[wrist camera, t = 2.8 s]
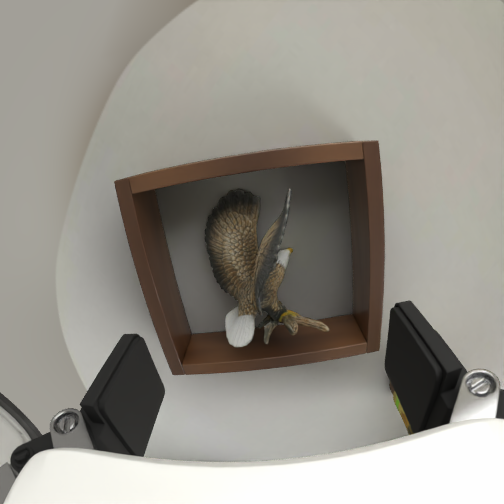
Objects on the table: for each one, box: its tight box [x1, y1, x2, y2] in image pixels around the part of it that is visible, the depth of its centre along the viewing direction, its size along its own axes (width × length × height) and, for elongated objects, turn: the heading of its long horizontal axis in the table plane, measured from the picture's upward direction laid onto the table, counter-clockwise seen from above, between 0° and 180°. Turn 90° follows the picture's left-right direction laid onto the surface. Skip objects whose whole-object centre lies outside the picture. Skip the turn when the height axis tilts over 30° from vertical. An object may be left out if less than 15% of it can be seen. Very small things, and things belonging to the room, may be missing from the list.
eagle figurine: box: [205, 189, 330, 347], centre depth 18 cm, size 8×7×9 cm
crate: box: [114, 141, 385, 375], centre depth 19 cm, size 15×14×4 cm
